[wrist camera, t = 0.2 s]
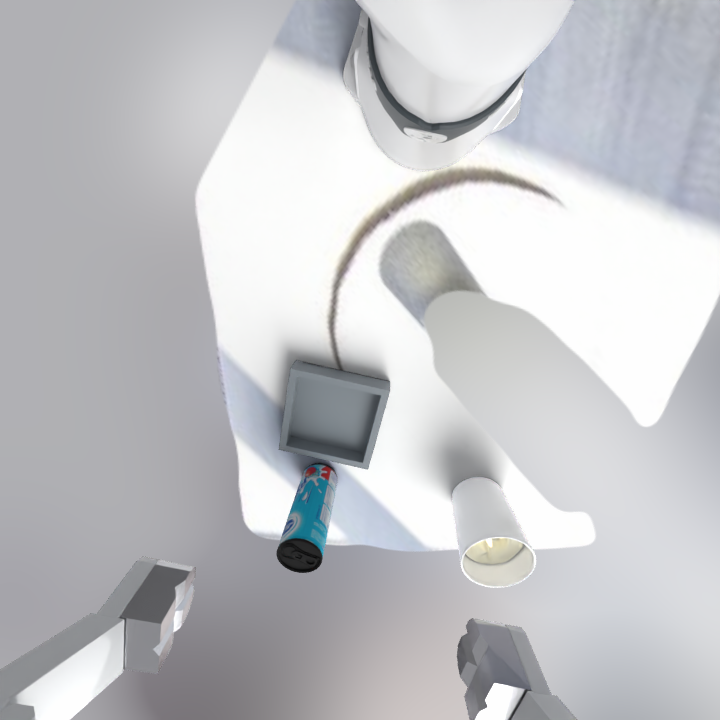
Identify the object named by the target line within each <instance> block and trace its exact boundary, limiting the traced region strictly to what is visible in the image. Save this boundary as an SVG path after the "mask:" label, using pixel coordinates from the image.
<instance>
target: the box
mask: <svg viewBox="0 0 720 720" xmlns="http://www.w3.org/2000/svg"><path fill="white" fill-rule="evenodd" d="M389 392H390V381H386V380H382V379H377V378H373V377H368V376H364V375H359V374H355V373H351V372H346V371H342V370H337V369H333V368H329V367H324V366H320V365H315V364H311V363H306V362H302V361H298V360H296V361H295V362H294V364H293V365H292V367H291V368H290V375H289V382H288V389H287V396H286V403H285V410H284V417H283V424H282V431H281V438H280V444H279V450H283V451H287V452H292V453H296V454H301V455H305V456H310V457H314V458H319V459H323V460H328V461H332V462H336V463H341V464H345V465H350V466H354V467H359V468H363V469H368V467H369V464H370V460H371V457H372V453H373V450H374V446H375V442H376V439H377V435H378V432H379V428H380V425H381V421H382V417H383V414H384V410H385V407H386V403H387V400H388V396H389Z"/></svg>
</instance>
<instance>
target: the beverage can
mask: <svg viewBox="0 0 720 720" xmlns="http://www.w3.org/2000/svg"><path fill="white" fill-rule="evenodd" d="M336 486H337V476H336V473H335V471H334V470H333V469H332V468H331V467H329V466H327V465H325V464H313V465H311V466H309V467H308V468H306V470H305V471H304V472H303V475H302V478H301V481H300V484H299V487H298V490H297V493H296V496H295V499H294V502H293V505H292V508H291V510H290V513H289V516H288V519H287V522H286V525H285V528H284V531H283V534H282V537H281V541H280V544H279V547H278V549H277V558H278V560H279V562H280V563H281V564H282V565H283V566H284V567H285V568H287V569H289V570H291V571H294V572H299V573H306V572H311V571H314V570H315V569H317V568H318V567H319V566H320V565H321V563H322V557H323V552H324V548H325V543H326V538H327V533H328V528H329V523H330V517H331V512H332V507H333V502H334V497H335V491H336Z"/></svg>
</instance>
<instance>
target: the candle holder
mask: <svg viewBox="0 0 720 720" xmlns="http://www.w3.org/2000/svg"><path fill="white" fill-rule="evenodd" d="M452 507H453V514H454V521H455V528H456V535H457V542H458V549H459V556H460V566H461V569H462V571H463V573H464V574H465V576H466V577H467V578H469V579H470V580H471V581H473V582H475V583H477V584H479V585H482V586H486V587H494V588H497V587H498V588H499V587H507V586H511V585H515V584H517V583H520V582H521V581H523V580H525V579H526V578H527V577H529V576H530V574H531V573H532V572H533V570H534V569H535V566H536V555H535V553H534V550H533V549H532V547H531V546H530V544H529V542H528V540H527V538H526V536H525V534H524V532H523V530H522V528H521V526H520V524H519V522H518V520H517V518H516V516H515V514H514V512H513V510H512V508H511V506H510V504H509V502H508V500H507V498H506V496H505V494H504V492H503V490H502V489H501V487H500V486H499V485H498V484H497V483H496V482H495V481H493V480H491V479H488V478H484V477H473V478H469V479H466V480H464V481H462V482H460V483H459V484H458V485H457V486H456V487H455V489H454V490H453V493H452Z"/></svg>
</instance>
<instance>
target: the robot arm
mask: <svg viewBox="0 0 720 720" xmlns="http://www.w3.org/2000/svg"><path fill="white" fill-rule="evenodd" d="M355 1H356V2H357V3H358V4H359V6H360V7H361V8H362V10H361V13H360V18H359V23H358V26H357V29H356V32H355V36H354V39H353V42H352V45H351V48H350V51H349V54H348V57H347V60H346V63H345V67H344V71H343V80H344V84H345V86H346V88H347V90H348V91H349V92H350V94H351V95H352V96H353V97H354V99H355V100H356V101H357V102H358V103H359V105H360V106H361V108H362V111H363V113H364V116H365V119H366V122H367V125H368V128H369V131H370V133H371V135H372V137H373V139H374V141H375V142H376V144H377V145H378V147H379V148H380V149H381V150H382V151H383V152H384V154H385V155H387V156H388V157H389V158H390V159H391V160H393V161H394V162H396V163H397V164H399V165H401V166H403V167H406V168H409V169H413V170H419V171H432V170H438V169H442V168H445V167H448V166H450V165H452V164H454V163H456V162H458V161H459V160H461V159H462V158H464V157H465V156H466V155H468V154H469V153H470V152H471V151H472V150H473V149H474V148H475V147H476V146H477V145H478V144H479V143H480V142H481V141H482V140H483V139H484V138H485V137H487V136H488V135H490V134H492V133H495V132H497V131H499V130H501V129H503V128H505V127H507V126H509V125H510V124H511V123H512V122H513V121H514V120H515V119H516V117H517V116H518V113H519V110H520V104H521V98H522V92H523V86H524V79H525V73H526V70H527V68H528V67H529V66H530V65H531V64H532V62H533V61H534V60H535V59H536V58H537V57H538V56H539V55H540V54H541V53H542V52H543V51H544V49H545V48H546V47H547V46H548V45H549V43H550V42H551V41H552V39H553V38H554V37H555V35H556V34H557V32H558V31H559V29H560V28H561V26H562V25H563V23H564V21H565V19H566V18H567V16H568V14H569V12H570V10H571V8H572V6H573V3H574V1H575V0H355ZM195 575H196V568H195V567H190V566H186V565H181V564H176V563H172V562H167V561H163V560H158V559H153V558H148V557H141V558H140V559H139V560H138V561H136V563H135V564H134V565H133V566H132V568H131V569H130V570H129V572H128V573H127V574H126V576H125V577H124V579H123V580H122V581H121V582H120V584H119V585H118V587H117V588H116V589H115V590H114V592H113V593H112V594H111V596H110V597H109V598H108V600H107V601H106V603H105V604H104V605H103V606H102V608H101V609H100V610H99V612H98V613H97V614H93V613H91V614H89V615H87V616H86V617H84V618H82V619H81V620H79V621H78V622H76V623H74V624H73V625H71V626H70V627H68V628H66V629H65V630H63V631H62V632H60V633H58V634H57V635H55V636H54V637H52V638H50V639H49V640H47V641H45V642H44V643H42V644H41V645H39V646H37V647H36V648H34V649H33V650H31V651H29V652H28V653H26V654H25V655H23V656H21V657H20V658H18V659H16V660H15V661H13V662H12V663H10V664H8V665H7V666H5V667H4V668H2V669H0V720H70V719H71V718H72V717H73V716H74V715H75V714H76V713H78V712H79V711H80V710H81V709H82V708H83V707H84V706H86V705H87V704H88V703H89V702H90V701H91V700H92V699H93V698H95V697H96V696H97V695H98V694H99V693H100V692H101V691H102V690H104V689H105V688H106V687H107V686H108V685H109V684H110V683H111V682H112V681H114V680H115V679H116V678H117V677H118V676H119V675H120V674H122V672H123V669H125V670H132V671H140V672H147V673H155V674H158V673H159V671H160V669H161V667H162V665H163V663H164V661H165V659H166V657H167V655H168V653H169V651H170V649H171V647H172V642H173V633H174V632H175V631H177V630H178V629H179V628H180V627H182V624H183V622H184V620H185V618H186V616H187V614H188V611H189V608H190V606H191V603H192V598H193V595H194V587H193V585H192V582H193V580H194V578H195ZM466 629H467V634H465V635H464V636H462V637H461V639H460V641H459V644H458V651H457V661H458V669H459V674H460V677H461V679H462V680H463V681H464V683H465V684H466V685H467V687H468V688H467V691H466V693H465V701H466V706H467V710H468V714H469V719H470V720H577V719H576V717H575V716H574V715H573V714H572V713H571V712H570V711H569V709H568V708H567V707H566V706H565V705H564V704H563V702H562V701H561V700H560V699H559V698H558V697H557V696H555V695H552V694H551V692H550V690H549V687H548V685H547V683H546V680H545V678H544V676H543V673H542V671H541V669H540V666H539V664H538V661H537V659H536V656H535V654H534V652H533V649H532V647H531V645H530V643H529V640H528V638H527V635H526V633H525V631H524V630H523V629H522V628H521V627H517V626H511V625H504V624H502V623H497V622H491V621H485V620H479V619H473V618H472V619H470V620H469V621H468V623H467V625H466Z"/></svg>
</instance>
